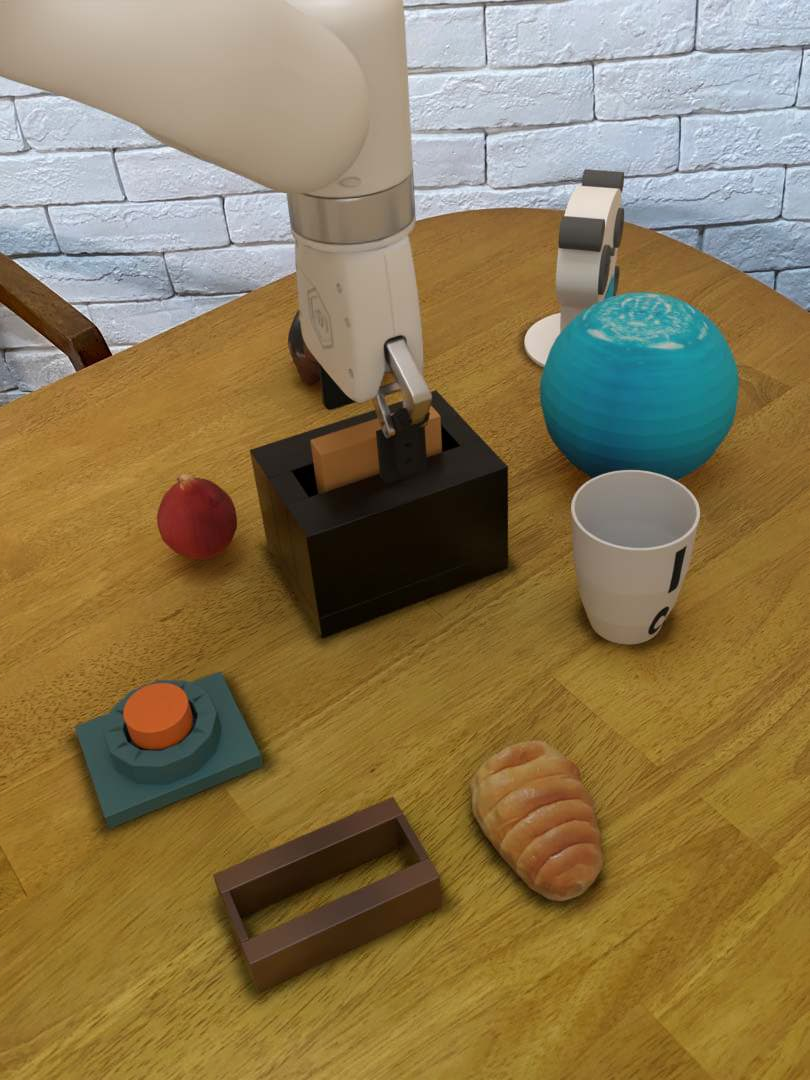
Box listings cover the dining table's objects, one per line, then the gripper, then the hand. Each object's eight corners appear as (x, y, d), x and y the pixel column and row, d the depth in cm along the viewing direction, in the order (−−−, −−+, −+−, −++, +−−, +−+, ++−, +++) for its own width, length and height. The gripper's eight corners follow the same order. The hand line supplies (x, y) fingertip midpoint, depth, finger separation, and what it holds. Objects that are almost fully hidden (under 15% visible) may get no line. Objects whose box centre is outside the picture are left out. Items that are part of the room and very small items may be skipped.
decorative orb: (511, 503, 89) (511, 338, 80) (572, 402, 99) (579, 244, 90) (700, 548, 84) (725, 377, 74) (744, 437, 94) (772, 273, 84)
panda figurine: (634, 387, 101) (647, 230, 91) (510, 372, 104) (510, 218, 94) (654, 320, 109) (669, 169, 99) (539, 307, 112) (542, 161, 102)
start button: (139, 760, 69) (132, 741, 68) (122, 715, 72) (116, 697, 70) (201, 735, 70) (196, 716, 69) (182, 692, 73) (177, 674, 72)
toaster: (322, 639, 79) (306, 537, 73) (267, 548, 87) (249, 449, 81) (508, 568, 84) (508, 466, 77) (441, 488, 91) (436, 389, 85)
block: (109, 829, 68) (97, 799, 66) (78, 737, 74) (67, 707, 72) (263, 766, 71) (257, 735, 69) (223, 682, 77) (216, 652, 75)
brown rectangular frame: (257, 993, 60) (249, 965, 58) (221, 903, 64) (212, 874, 62) (442, 906, 63) (440, 876, 61) (396, 826, 67) (393, 795, 65)
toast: (335, 565, 82) (321, 454, 76) (325, 549, 83) (309, 439, 77) (446, 525, 85) (440, 415, 78) (434, 510, 86) (427, 401, 80)
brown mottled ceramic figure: (279, 415, 101) (263, 333, 96) (315, 336, 112) (302, 260, 108) (386, 413, 99) (375, 330, 94) (411, 334, 111) (402, 257, 106)
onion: (218, 522, 90) (200, 440, 85) (258, 557, 86) (242, 474, 81) (154, 555, 87) (131, 473, 82) (193, 593, 84) (172, 510, 78)
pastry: (632, 883, 63) (636, 844, 61) (522, 924, 62) (522, 886, 59) (559, 759, 70) (560, 719, 68) (458, 794, 69) (456, 755, 66)
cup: (674, 671, 75) (689, 559, 69) (554, 647, 77) (558, 537, 71) (692, 590, 81) (707, 480, 74) (580, 570, 83) (586, 461, 76)
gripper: (243, 166, 72) (278, 393, 83) (351, 277, 60) (375, 525, 71) (351, 140, 74) (371, 364, 85) (476, 243, 62) (481, 488, 73)
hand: (373, 437), depth 78 cm, fingers open, 9 cm apart
